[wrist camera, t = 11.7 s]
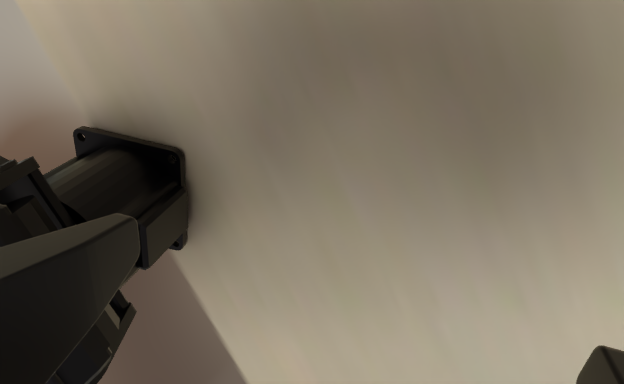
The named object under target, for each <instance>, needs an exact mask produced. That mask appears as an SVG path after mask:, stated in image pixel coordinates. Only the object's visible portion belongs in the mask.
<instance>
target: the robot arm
mask: <svg viewBox="0 0 624 384" xmlns="http://www.w3.org/2000/svg"><path fill="white" fill-rule="evenodd" d="M82 134H83V135H84V136H85V138H84V137H83V135H82ZM73 137H74V143H75V149H76V156H77V157H75V158H73V159H71V160H69V161H68V162H66V163H64V164H62V165H60V166H59V167H57V168H55V169H53V170H51V171H50V172H48V173H46V174H44V175H42V174H41V172H40V171H39V169H38V168H39V167H40V166H39V165H38V163H37V162H36V160H35V159H34V157H33V156H32V157H30V158H28V159H25V160H23V161H20V162H18V163H17V161H16V160H15V159H14V160H10V161H9V160H7V159H5V158H3V157H1V156H0V384H97V383H98V382H99V380H100V379H101V378H102V376H103V375H104V373H105V372H106V370H107V368H108V366H109V364H110V363H111V361H112V359H113V357H114V355H115V353H116V351H117V349H118V347H119V345H120V343H121V341H122V339H123V337H124V335H125V333H126V332H127V329H128V328H129V326H130V324H131V322H132V320H133V318H134V316H135V314H136V310H135V308H134V307H133V305H132V304H131V303H128V301H127V300H126V298H125V297H124V296H123V294H122V292H121V291H120V288H121V287H122V286H123V285H124V284H125V283H126V282H127V281H128V280H129V279H130V278H131V277H132V276H133V275H134V274H135V273H136V272H137V271H138V270H139V269H143V270H146V269H148V268H150V266H152V265H153V264H154V263H155V262H156V261H157V259H158V258H159V257H160V256H161V255H162V254H163V253H164V252H165V251H166V250H167V249H168V248H170V249H173V250H181V249H182V248H183V247H184V246H185V245H186V229H187V228H188V205H187V190H186V188H185V171H184V155H183V154H182V152H181V151H180V150H179V149H177V148H173V147H169V146H165V145H161V144H157V143H152V142H148V141H144V140H140V139H136V138H132V137H127V136H123V135H119V134H115V133H111V132H106V131H102V130H98V129H94V128H90V127H85V126H82V127H80V128H78V129H76V130H74V132H73ZM171 155H173V156H174V157H175V158H176V161H175V160H173V158H172V156H171ZM176 241H178V242H179V243H178V242H176ZM576 384H624V351H621V350H618V349H614V348H610V347H607V346H598V347H596V348H595V349H594V350H593V352H592V354H591V355H590V357H589V359H588V360H587V362H586V364H585V365H584V367H583V369H582V370H581V372H580V374H579V375H578V378H577V382H576Z"/></svg>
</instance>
